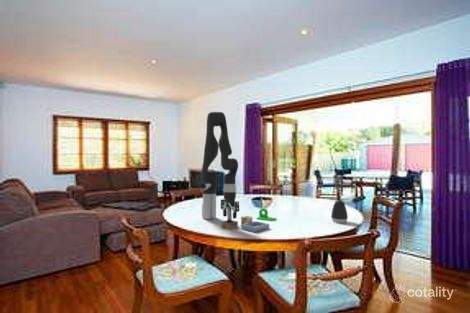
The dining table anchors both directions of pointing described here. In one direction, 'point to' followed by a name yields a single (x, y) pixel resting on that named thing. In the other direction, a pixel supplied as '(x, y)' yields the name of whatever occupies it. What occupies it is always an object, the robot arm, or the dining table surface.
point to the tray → (255, 226)
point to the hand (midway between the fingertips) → (229, 217)
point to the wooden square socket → (229, 225)
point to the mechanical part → (265, 215)
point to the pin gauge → (229, 215)
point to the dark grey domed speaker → (339, 212)
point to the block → (246, 219)
